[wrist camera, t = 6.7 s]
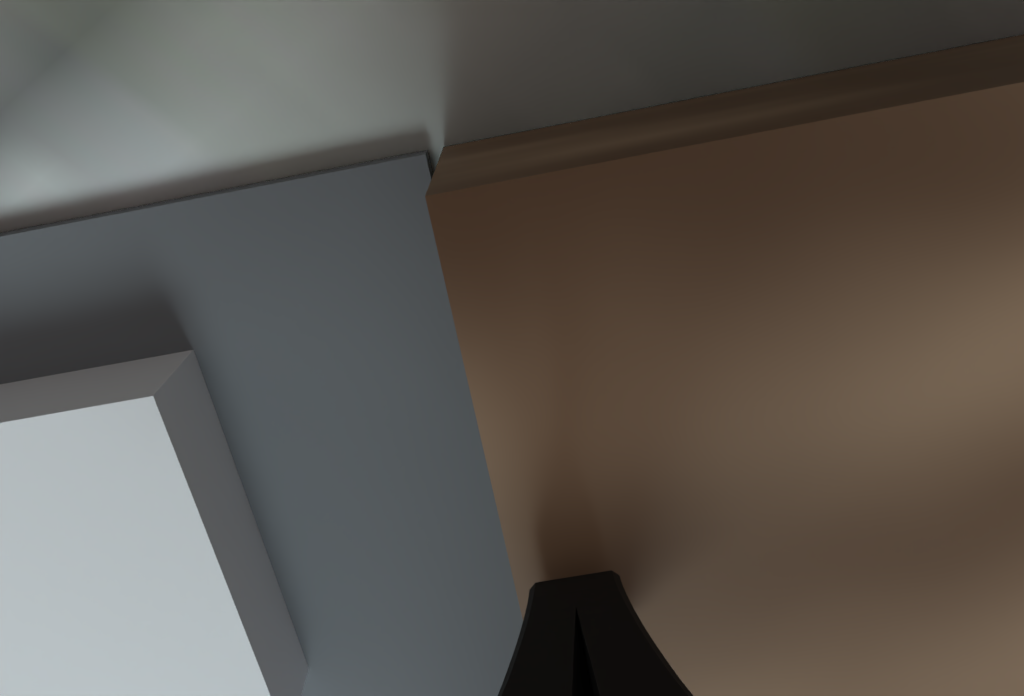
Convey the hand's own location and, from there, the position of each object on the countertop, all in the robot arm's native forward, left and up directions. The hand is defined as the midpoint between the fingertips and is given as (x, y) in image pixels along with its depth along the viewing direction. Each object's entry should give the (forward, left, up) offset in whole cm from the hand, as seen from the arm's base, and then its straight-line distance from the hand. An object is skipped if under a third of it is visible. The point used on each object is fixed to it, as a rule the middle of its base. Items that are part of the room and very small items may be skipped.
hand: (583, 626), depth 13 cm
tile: (0, +10, -2) cm, 11 cm away
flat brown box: (0, -5, -5) cm, 7 cm away
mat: (0, +8, -5) cm, 9 cm away
